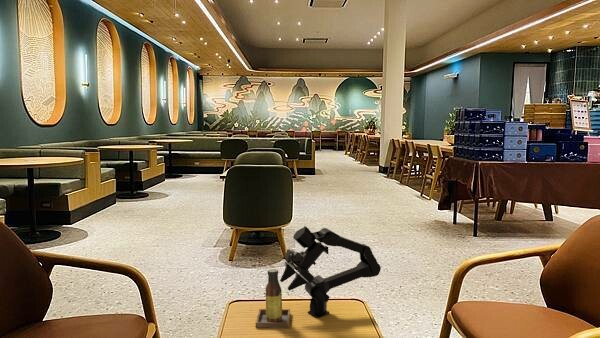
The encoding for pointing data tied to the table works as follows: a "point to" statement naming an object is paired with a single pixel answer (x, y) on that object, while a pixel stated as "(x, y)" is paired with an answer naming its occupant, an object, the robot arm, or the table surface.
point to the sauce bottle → (273, 297)
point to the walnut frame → (263, 322)
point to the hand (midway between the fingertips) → (284, 285)
